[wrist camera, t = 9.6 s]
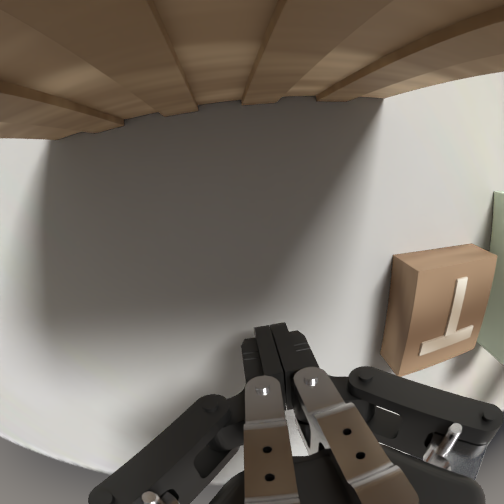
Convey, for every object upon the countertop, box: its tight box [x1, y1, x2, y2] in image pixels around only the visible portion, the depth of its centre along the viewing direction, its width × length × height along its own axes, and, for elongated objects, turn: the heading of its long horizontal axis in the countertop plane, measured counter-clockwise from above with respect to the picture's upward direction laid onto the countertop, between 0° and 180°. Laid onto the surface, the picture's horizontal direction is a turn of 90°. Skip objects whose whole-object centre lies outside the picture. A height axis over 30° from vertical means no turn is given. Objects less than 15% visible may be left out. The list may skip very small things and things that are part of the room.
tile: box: [380, 244, 497, 377], centre depth 16 cm, size 7×7×3 cm
